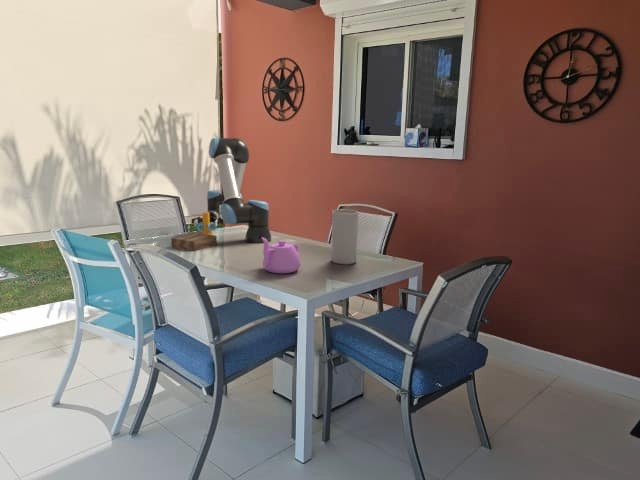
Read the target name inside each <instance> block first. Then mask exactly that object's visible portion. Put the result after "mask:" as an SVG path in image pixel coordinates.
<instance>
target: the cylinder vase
mask: <svg viewBox="0 0 640 480" xmlns="http://www.w3.org/2000/svg"><path fill="white" fill-rule="evenodd" d="M331 214H332V218H331V221H332V222H331V246H330V247H331V248H330V249H331V251H330V256H331V257H330V259H331V262H332V263H334V264H337V265H353V264H355V263H357V261H358V260H357V259H358V257H357V255H358V253H357V252H358V235H359V234H358V230H359V229H358V227H359V211H358V210H356V209H355V210H354V209H334V210H332V212H331Z"/></svg>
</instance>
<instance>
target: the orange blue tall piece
mask: <svg viewBox="0 0 640 480" xmlns="http://www.w3.org/2000/svg"><path fill="white" fill-rule="evenodd" d="M201 213H202V217H203V222H201V223H197V225H196V226H195V227H196V229H197V230H198V231H199V232H201V233H200V234H207V235H213V233H212V232H213V231H216V230H217V226H215V223H213V222H211V223H210V214H209V212H208V211H203V212H201ZM212 225H213V226H212ZM200 226H201V228H200Z"/></svg>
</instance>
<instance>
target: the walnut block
mask: <svg viewBox="0 0 640 480" xmlns="http://www.w3.org/2000/svg"><path fill="white" fill-rule="evenodd" d="M170 239H171V248H174V249H181V250H186V251H187V250H188V251H194V252H195V251H199V250H202V249H203V250H204V249H207V248H209V247H213V246H217V243H218V242H217V241H218V239H217V235H213V234H212V235H207V234H201V233H197V232H191V233H187V234H183V235H179V236H175V237H171V238H170Z"/></svg>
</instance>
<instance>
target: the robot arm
mask: <svg viewBox="0 0 640 480" xmlns="http://www.w3.org/2000/svg"><path fill="white" fill-rule="evenodd" d="M208 154H209V155H208V156H209V158H210V159H213V162H214V164H216V165H217V168H218V174H219V177H220V183H221V188H222V192H223V193H222V192H220V191H219V190H212V189H211V190H208V191H207V193H206V196H207V197H206V200H207V202H206V203H207V212H209V214H210V223H211V222H213V223H214V224H215V226H216V227H217V226H218V225H220V224H221V225H223V224H224V223H225V224H226V225H244V224H247V225H248V226H247V231H246V234H245V239H244V240H245V242H247V243H254V244H259V243H260V244H261V243H263V244H264V242H263V239H262V237H263V238H265V239H267V241H268V243H269V242H271V241H272V234H271V232H270V228H269V219H270V218H269V211H270V210H269V203H267V202H266V201H263V200H255V199H249V200H248V201H247V202H244V199H243V196H242V195H243V194H242V193H241V189H242V183H243V179H244V174H245V169H246V165H247V163H249V160H250V150H249V147H248V146H247V144H246V143H245V142H244V141H243V140H242V139H241V138H237V137H231V138H230V137H213V138H211V140H210V142H209V147H208ZM198 223H203V216H202V217H201V216H197V217H194V218H191V224H193V226H194V227H196V225H197V224H198Z"/></svg>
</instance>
